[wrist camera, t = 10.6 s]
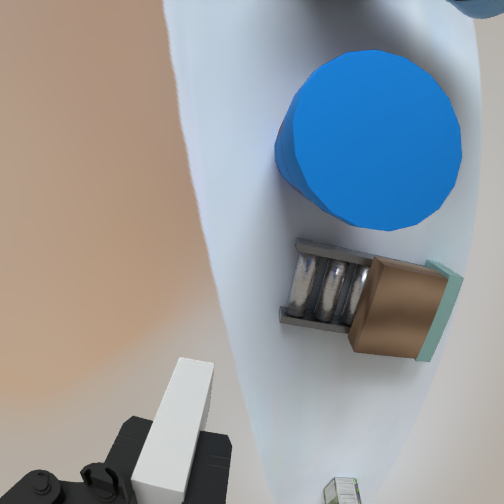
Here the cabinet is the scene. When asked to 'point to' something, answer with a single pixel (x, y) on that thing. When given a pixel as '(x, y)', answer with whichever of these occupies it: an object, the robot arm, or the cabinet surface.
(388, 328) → the slab
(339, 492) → the syrup box
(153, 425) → the robot arm
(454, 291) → the stop block
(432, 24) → the cabinet surface
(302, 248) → the roller bed
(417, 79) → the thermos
